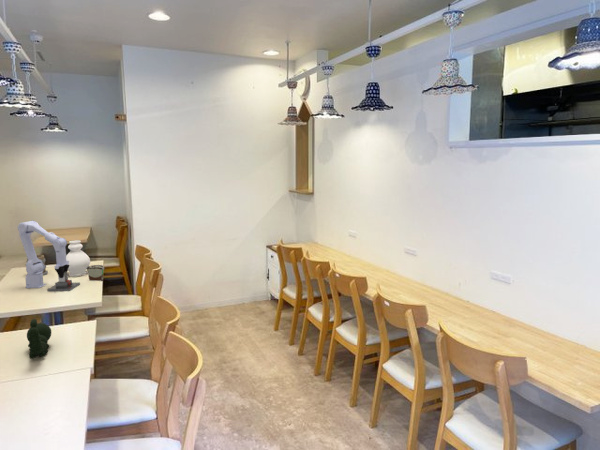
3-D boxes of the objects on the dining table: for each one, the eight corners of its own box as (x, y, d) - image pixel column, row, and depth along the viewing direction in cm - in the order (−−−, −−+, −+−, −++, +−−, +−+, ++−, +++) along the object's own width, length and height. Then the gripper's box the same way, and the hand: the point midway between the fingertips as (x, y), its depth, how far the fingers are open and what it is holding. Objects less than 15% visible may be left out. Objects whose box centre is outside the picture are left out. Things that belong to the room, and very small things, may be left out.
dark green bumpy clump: (50, 364, 174) (53, 337, 196) (45, 323, 170) (49, 300, 192) (23, 369, 170) (30, 341, 192) (18, 327, 166) (25, 303, 187)
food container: (108, 278, 295) (107, 264, 294) (103, 280, 289) (102, 267, 288) (92, 277, 296) (91, 264, 295) (87, 280, 290) (86, 266, 289)
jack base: (47, 291, 266) (46, 283, 265) (58, 285, 280) (58, 277, 279) (69, 291, 267) (69, 283, 266) (80, 284, 280) (79, 277, 280)
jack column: (58, 283, 270) (57, 272, 269) (62, 281, 275) (61, 270, 273) (65, 283, 271) (64, 272, 270) (68, 281, 275) (67, 270, 274)
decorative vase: (67, 272, 312) (64, 239, 308) (93, 270, 317) (90, 238, 314) (61, 278, 295) (58, 244, 291) (88, 276, 301) (86, 242, 297)
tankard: (28, 273, 308) (26, 254, 306) (48, 271, 314) (46, 252, 311) (24, 280, 290) (21, 259, 288) (45, 278, 296) (42, 258, 293)
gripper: (61, 259, 263) (63, 279, 265) (72, 254, 277) (74, 273, 279) (50, 259, 263) (52, 280, 265) (62, 254, 277) (63, 273, 279)
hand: (63, 276), depth 272 cm, fingers closed on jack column, 4 cm apart
